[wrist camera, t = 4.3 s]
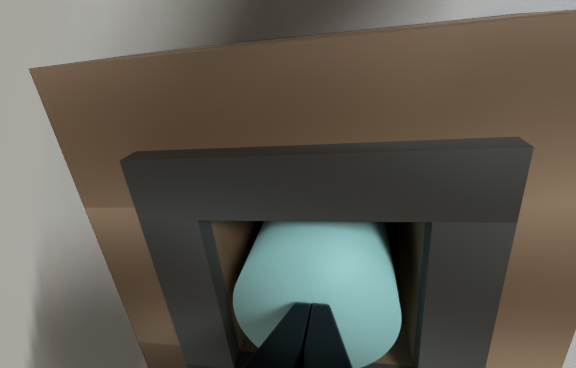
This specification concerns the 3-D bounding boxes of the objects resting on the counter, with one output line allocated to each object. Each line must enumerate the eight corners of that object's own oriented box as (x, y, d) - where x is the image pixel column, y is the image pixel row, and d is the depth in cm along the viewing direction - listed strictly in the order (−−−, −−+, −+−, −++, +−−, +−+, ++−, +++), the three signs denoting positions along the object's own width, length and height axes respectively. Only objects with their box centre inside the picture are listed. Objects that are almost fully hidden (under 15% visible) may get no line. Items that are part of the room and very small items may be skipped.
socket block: (467, 305, 15) (539, 481, 9) (221, 292, 18) (156, 425, 12) (516, 14, 10) (735, -3, 4) (165, 50, 13) (3, 72, 7)
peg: (380, 244, 13) (397, 379, 8) (284, 242, 14) (245, 365, 9) (382, 151, 12) (405, 248, 7) (273, 155, 13) (219, 243, 7)
